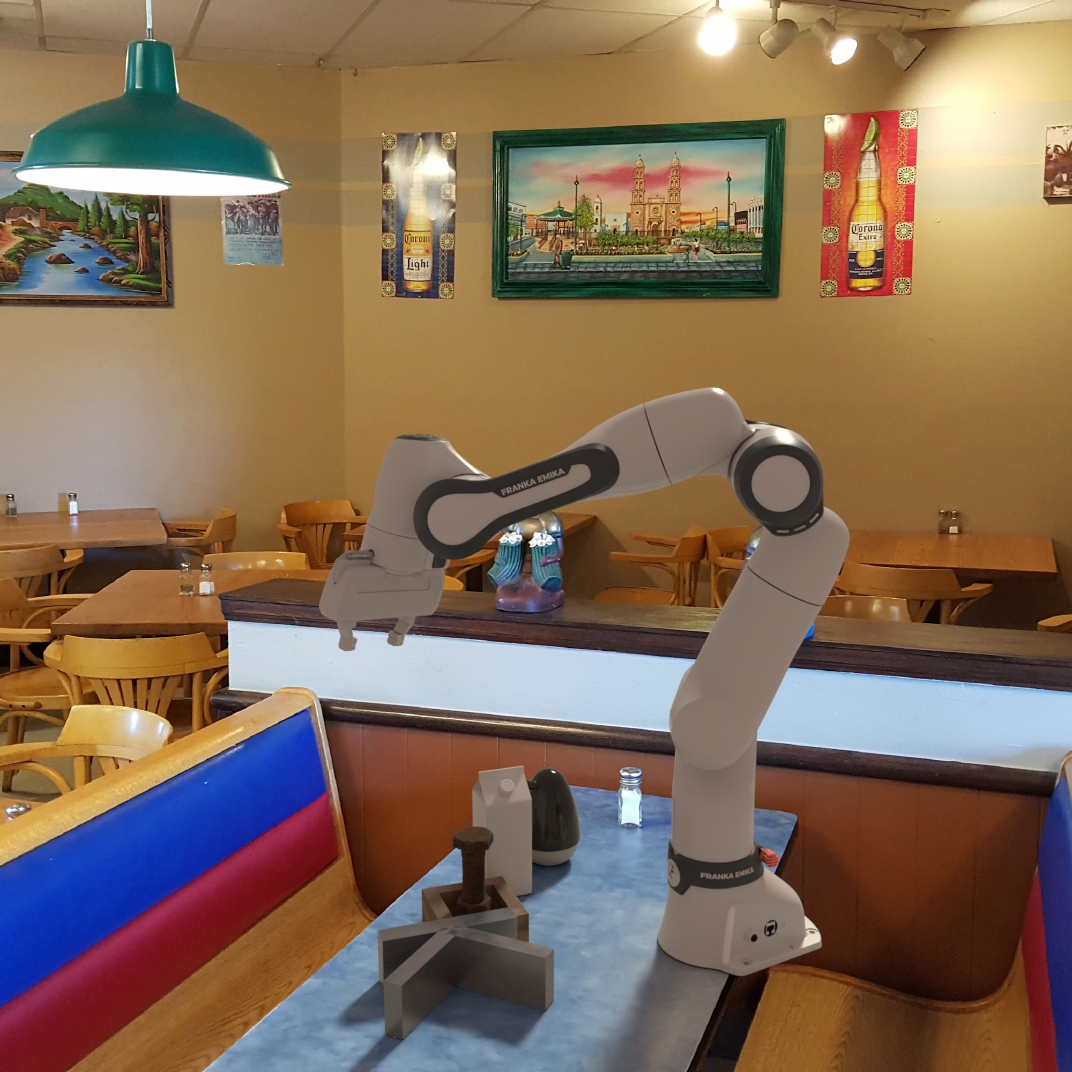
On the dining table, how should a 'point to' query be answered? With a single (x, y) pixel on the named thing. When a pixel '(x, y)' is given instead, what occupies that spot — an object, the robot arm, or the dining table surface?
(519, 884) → the milk carton
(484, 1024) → the dining table surface
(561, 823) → the black egg shape
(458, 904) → the bolt
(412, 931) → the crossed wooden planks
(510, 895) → the bore block
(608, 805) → the dining table surface
